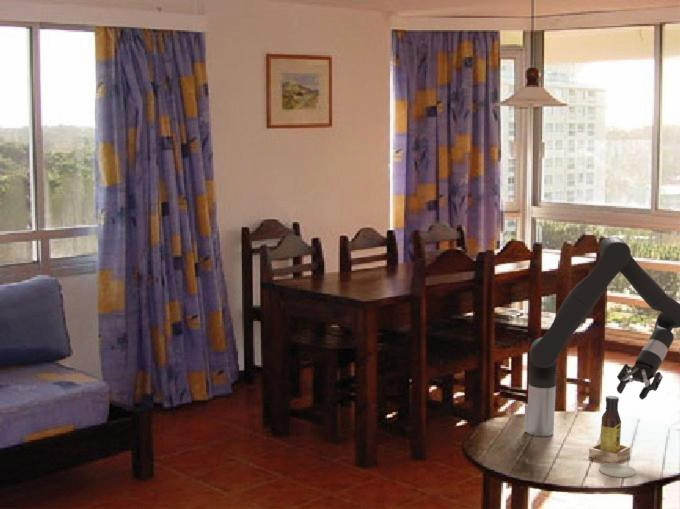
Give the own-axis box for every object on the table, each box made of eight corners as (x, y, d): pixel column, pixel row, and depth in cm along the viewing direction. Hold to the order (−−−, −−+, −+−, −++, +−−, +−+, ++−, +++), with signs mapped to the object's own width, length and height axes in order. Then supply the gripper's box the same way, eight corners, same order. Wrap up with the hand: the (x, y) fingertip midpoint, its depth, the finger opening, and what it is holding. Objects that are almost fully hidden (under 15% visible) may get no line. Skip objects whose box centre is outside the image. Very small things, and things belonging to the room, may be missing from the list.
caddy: (588, 457, 343) (589, 448, 343) (603, 449, 351) (603, 440, 351) (615, 463, 337) (616, 454, 337) (629, 455, 345) (630, 446, 345)
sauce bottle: (619, 460, 341) (623, 400, 338) (599, 458, 342) (603, 399, 339) (618, 453, 347) (622, 395, 344) (599, 452, 348) (602, 393, 345)
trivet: (593, 471, 330) (593, 469, 330) (608, 462, 339) (608, 460, 339) (625, 480, 323) (626, 478, 323) (641, 470, 332) (641, 468, 332)
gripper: (629, 345, 356) (607, 384, 351) (666, 353, 346) (644, 393, 340) (637, 358, 361) (615, 396, 355) (674, 367, 350) (652, 406, 344)
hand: (629, 395), depth 348 cm, fingers open, 8 cm apart
